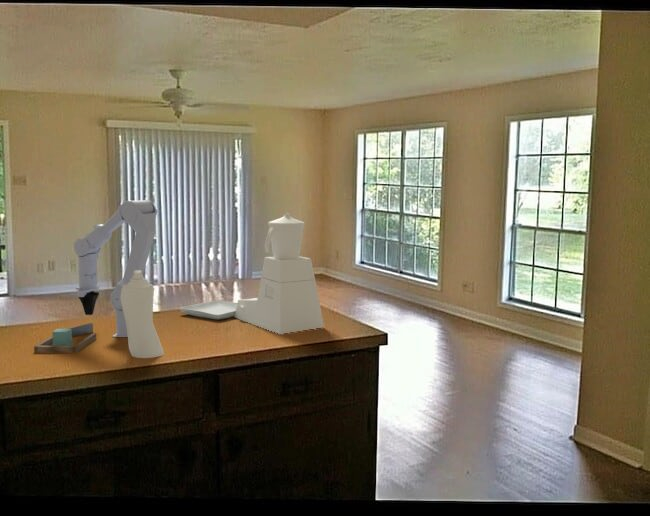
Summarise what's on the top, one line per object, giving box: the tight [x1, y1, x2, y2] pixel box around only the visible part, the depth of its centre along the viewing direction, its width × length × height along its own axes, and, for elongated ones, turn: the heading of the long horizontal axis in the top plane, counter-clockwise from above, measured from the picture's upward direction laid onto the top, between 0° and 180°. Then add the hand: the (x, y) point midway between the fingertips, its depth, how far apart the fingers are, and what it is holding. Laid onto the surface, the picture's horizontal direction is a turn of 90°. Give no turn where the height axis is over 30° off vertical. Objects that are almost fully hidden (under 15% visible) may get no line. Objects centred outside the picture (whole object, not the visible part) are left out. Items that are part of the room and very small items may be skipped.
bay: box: [33, 332, 97, 354], centre depth 189 cm, size 12×16×2 cm
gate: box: [64, 322, 94, 338], centre depth 202 cm, size 12×1×3 cm, turn 145°
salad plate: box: [179, 299, 238, 320], centre depth 238 cm, size 21×21×3 cm
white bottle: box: [120, 270, 165, 359], centre depth 178 cm, size 12×11×25 cm
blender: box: [233, 212, 325, 335], centre depth 221 cm, size 33×18×40 cm, turn 35°
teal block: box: [51, 328, 73, 346], centre depth 187 cm, size 4×4×6 cm
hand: (89, 314), depth 210 cm, fingers closed
